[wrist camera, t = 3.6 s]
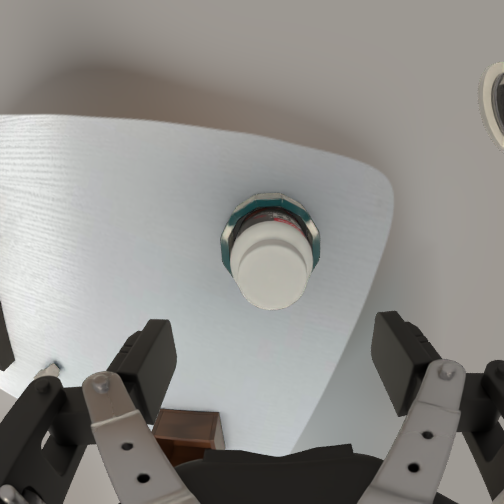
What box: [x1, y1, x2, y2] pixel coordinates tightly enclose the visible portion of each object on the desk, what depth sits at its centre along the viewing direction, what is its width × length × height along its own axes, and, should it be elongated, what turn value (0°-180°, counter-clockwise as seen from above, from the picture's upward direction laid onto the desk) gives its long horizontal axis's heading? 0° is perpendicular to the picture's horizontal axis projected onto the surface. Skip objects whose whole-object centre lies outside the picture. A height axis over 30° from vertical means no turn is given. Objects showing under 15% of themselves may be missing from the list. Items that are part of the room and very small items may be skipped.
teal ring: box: [220, 193, 320, 277], centre depth 25 cm, size 7×7×4 cm
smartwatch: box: [34, 363, 60, 380], centre depth 31 cm, size 4×2×4 cm, turn 124°
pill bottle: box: [230, 207, 313, 310], centre depth 22 cm, size 5×5×10 cm
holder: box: [152, 409, 225, 468], centre depth 32 cm, size 7×7×4 cm
